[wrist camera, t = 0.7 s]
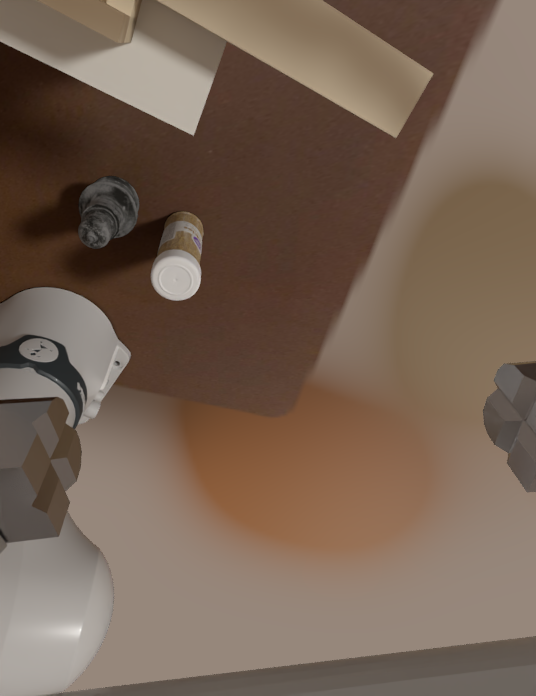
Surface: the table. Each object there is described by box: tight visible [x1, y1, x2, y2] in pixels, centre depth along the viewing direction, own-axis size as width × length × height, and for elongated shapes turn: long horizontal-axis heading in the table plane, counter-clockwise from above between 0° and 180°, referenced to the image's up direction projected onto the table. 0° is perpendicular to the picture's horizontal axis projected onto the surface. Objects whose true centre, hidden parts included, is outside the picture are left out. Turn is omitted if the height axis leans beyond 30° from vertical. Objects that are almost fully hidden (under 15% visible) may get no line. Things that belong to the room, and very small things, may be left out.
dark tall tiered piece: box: [78, 176, 139, 249], centre depth 43 cm, size 6×6×12 cm
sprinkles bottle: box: [151, 211, 203, 301], centre depth 46 cm, size 5×5×14 cm
